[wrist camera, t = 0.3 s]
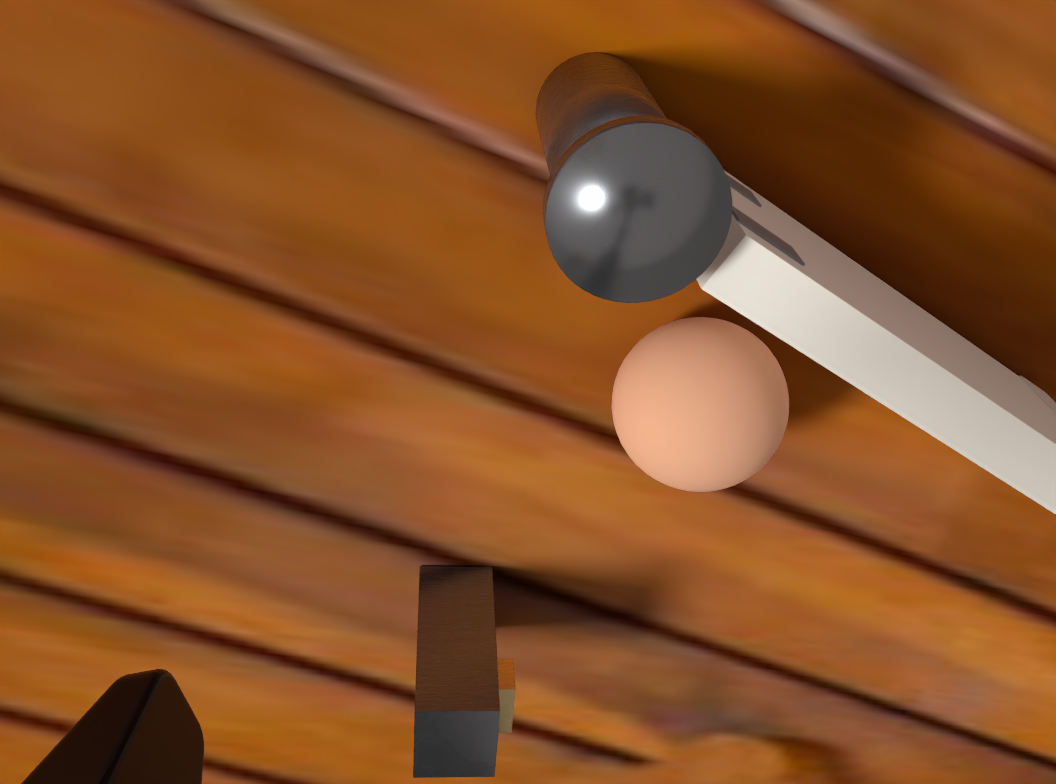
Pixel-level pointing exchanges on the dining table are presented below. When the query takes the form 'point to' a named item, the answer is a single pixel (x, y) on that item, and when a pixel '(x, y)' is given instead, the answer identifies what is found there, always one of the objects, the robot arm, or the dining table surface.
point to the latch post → (459, 675)
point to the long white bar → (883, 344)
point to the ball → (700, 404)
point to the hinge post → (626, 185)
